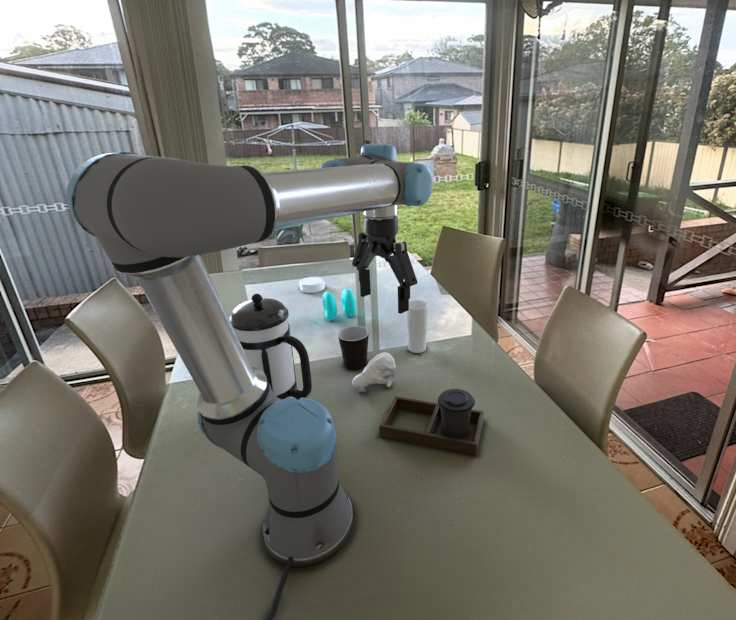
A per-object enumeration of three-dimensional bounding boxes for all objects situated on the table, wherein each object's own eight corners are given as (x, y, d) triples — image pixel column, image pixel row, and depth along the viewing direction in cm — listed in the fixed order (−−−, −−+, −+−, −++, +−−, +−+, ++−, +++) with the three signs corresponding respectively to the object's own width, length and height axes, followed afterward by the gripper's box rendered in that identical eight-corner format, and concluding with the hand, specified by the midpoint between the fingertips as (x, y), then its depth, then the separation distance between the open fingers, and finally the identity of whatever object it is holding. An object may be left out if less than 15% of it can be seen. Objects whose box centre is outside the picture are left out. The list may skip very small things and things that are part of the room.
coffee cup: (433, 441, 97) (433, 404, 93) (441, 418, 104) (442, 382, 100) (469, 449, 94) (471, 411, 91) (476, 425, 102) (477, 388, 98)
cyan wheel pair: (357, 320, 152) (356, 294, 148) (328, 325, 148) (326, 298, 145) (350, 309, 160) (349, 283, 157) (323, 313, 157) (320, 288, 153)
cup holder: (476, 456, 93) (476, 444, 92) (379, 436, 98) (379, 425, 97) (483, 421, 103) (484, 411, 102) (395, 406, 108) (395, 395, 107)
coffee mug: (365, 374, 121) (363, 342, 118) (335, 370, 123) (333, 339, 119) (376, 352, 132) (375, 322, 128) (349, 349, 134) (347, 320, 130)
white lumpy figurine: (397, 356, 113) (355, 374, 108) (400, 383, 117) (360, 401, 111) (385, 345, 118) (344, 362, 113) (389, 371, 122) (349, 389, 116)
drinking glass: (401, 352, 132) (400, 306, 127) (412, 342, 138) (412, 298, 132) (422, 357, 129) (421, 311, 124) (432, 346, 135) (432, 302, 129)
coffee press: (237, 433, 100) (214, 314, 89) (243, 392, 114) (224, 285, 103) (315, 419, 104) (303, 304, 93) (311, 381, 118) (300, 277, 107)
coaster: (297, 286, 181) (297, 278, 180) (321, 282, 185) (321, 274, 184) (302, 295, 173) (302, 286, 171) (327, 290, 176) (327, 282, 175)
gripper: (433, 222, 92) (432, 313, 100) (359, 205, 109) (363, 285, 116) (408, 229, 87) (409, 324, 95) (334, 210, 104) (340, 293, 111)
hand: (383, 303), depth 106 cm, fingers open, 13 cm apart
